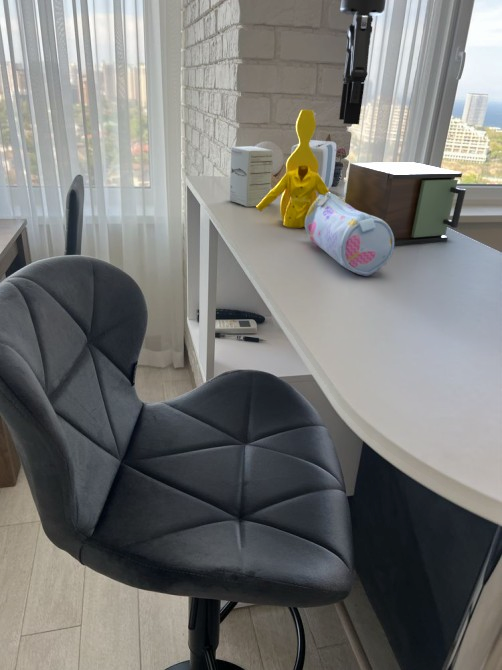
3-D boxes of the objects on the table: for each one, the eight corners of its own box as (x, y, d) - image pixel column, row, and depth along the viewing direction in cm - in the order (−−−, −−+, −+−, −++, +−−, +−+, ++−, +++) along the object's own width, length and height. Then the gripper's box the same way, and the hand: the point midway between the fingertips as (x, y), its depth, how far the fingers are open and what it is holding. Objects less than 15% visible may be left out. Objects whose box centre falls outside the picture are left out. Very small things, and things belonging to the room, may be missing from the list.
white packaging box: (228, 201, 123) (230, 146, 118) (252, 198, 127) (255, 145, 122) (246, 207, 118) (248, 150, 113) (270, 204, 122) (274, 149, 117)
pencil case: (301, 241, 94) (306, 189, 90) (345, 241, 96) (352, 190, 92) (339, 280, 76) (347, 217, 72) (392, 279, 78) (404, 217, 73)
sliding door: (457, 239, 97) (470, 182, 92) (424, 242, 94) (437, 183, 89) (442, 234, 100) (455, 178, 95) (410, 236, 97) (422, 179, 92)
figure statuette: (255, 226, 102) (261, 108, 93) (255, 217, 109) (261, 106, 100) (342, 231, 102) (358, 113, 93) (337, 222, 109) (351, 111, 100)
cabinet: (446, 241, 100) (462, 173, 94) (381, 246, 94) (393, 174, 88) (402, 224, 111) (413, 162, 105) (341, 228, 105) (349, 163, 99)
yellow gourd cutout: (318, 204, 125) (327, 117, 116) (286, 200, 127) (293, 114, 118) (332, 191, 143) (341, 114, 134) (304, 188, 145) (311, 112, 136)
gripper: (338, -3, 97) (326, 117, 107) (348, -30, 75) (331, 124, 84) (378, -1, 97) (361, 119, 106) (399, -28, 74) (376, 127, 84)
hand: (348, 122), depth 95 cm, fingers open, 13 cm apart
